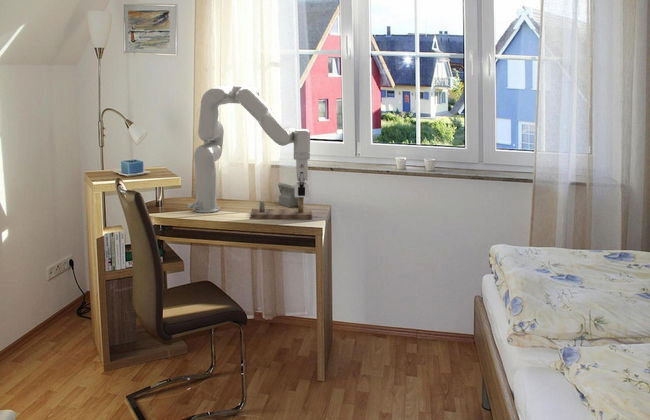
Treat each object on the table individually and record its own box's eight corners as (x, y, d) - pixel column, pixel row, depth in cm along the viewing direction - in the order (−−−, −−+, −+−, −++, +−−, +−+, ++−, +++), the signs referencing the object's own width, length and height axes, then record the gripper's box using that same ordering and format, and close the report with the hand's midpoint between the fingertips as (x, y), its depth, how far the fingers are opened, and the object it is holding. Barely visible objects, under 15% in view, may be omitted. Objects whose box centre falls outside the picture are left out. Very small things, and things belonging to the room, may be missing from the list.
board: (250, 218, 342) (250, 197, 340) (251, 212, 354) (251, 192, 352) (311, 219, 344) (312, 197, 342) (311, 213, 356) (311, 192, 354)
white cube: (294, 197, 344) (294, 184, 343) (294, 194, 350) (294, 182, 349) (308, 197, 344) (308, 184, 343) (308, 194, 351) (308, 181, 349)
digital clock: (305, 207, 369) (305, 186, 367) (289, 209, 365) (289, 187, 362) (291, 201, 383) (291, 180, 380) (275, 202, 378) (275, 181, 376)
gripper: (310, 158, 335) (310, 198, 339) (309, 153, 352) (308, 190, 356) (293, 158, 335) (293, 197, 339) (293, 153, 352) (293, 190, 355)
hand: (301, 193), depth 347 cm, fingers closed on white cube, 6 cm apart
